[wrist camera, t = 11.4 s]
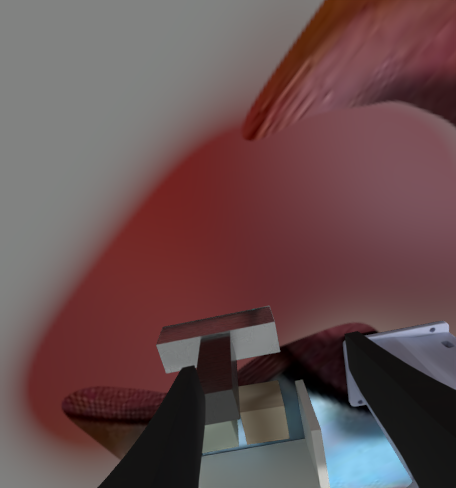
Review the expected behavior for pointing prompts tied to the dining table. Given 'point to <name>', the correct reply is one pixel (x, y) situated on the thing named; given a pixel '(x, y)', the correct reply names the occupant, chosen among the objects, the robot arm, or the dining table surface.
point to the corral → (273, 459)
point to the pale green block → (220, 436)
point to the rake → (219, 354)
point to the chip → (263, 412)
